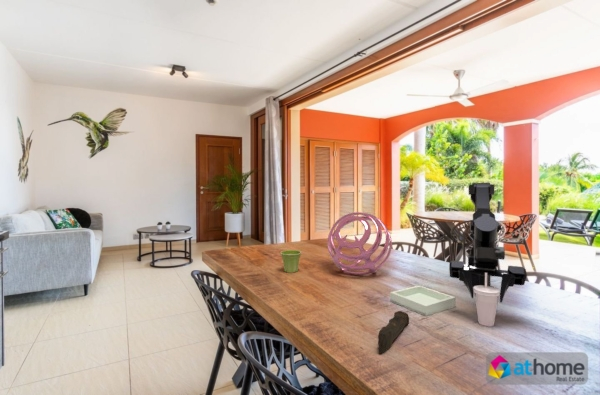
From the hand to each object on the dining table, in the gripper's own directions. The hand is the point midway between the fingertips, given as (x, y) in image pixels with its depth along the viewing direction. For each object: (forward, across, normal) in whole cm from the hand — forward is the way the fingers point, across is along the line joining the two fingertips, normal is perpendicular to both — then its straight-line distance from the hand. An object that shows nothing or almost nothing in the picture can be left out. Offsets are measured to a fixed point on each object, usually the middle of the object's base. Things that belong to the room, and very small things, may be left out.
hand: (486, 299), depth 85 cm
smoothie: (+4, 0, +6) cm, 7 cm away
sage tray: (-1, -18, +11) cm, 21 cm away
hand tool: (+18, -21, -8) cm, 29 cm away
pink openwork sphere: (-20, -47, +30) cm, 60 cm away
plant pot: (-13, -75, +23) cm, 80 cm away
